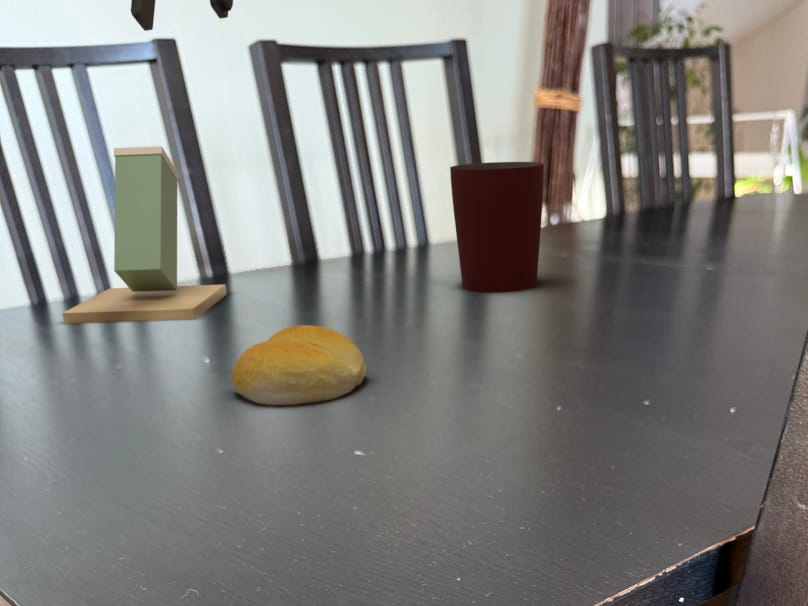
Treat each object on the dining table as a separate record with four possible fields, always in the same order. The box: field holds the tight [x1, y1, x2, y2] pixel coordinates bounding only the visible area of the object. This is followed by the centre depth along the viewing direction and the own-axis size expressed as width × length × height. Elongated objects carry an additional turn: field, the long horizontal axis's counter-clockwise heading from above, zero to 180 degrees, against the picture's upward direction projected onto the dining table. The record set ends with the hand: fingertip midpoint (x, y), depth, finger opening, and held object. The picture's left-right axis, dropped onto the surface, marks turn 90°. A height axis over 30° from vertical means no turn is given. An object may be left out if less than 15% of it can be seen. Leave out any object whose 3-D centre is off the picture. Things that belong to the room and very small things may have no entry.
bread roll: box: [231, 324, 367, 406], centre depth 63 cm, size 8×9×4 cm
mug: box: [449, 161, 545, 294], centre depth 93 cm, size 12×9×11 cm
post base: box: [62, 284, 228, 325], centre depth 90 cm, size 12×12×1 cm
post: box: [113, 145, 180, 292], centre depth 90 cm, size 5×5×12 cm
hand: (180, 18), depth 93 cm, fingers open, 8 cm apart
